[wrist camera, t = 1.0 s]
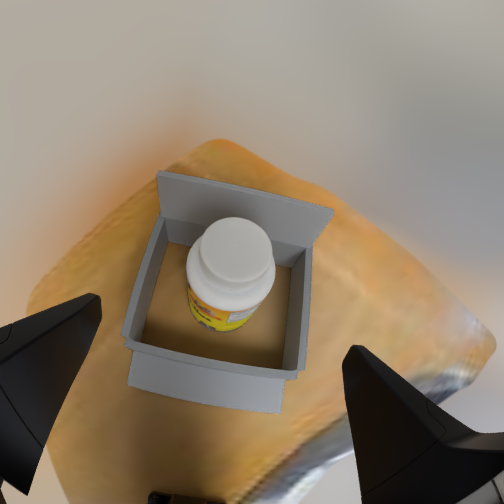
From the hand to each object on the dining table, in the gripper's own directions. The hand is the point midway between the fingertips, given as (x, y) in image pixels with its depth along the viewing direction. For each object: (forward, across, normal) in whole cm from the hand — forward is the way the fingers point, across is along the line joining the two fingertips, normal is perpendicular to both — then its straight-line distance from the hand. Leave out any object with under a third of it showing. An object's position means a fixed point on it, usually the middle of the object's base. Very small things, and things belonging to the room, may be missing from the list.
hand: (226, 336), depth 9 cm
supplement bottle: (+13, 0, +8) cm, 15 cm away
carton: (+12, 0, +8) cm, 14 cm away
